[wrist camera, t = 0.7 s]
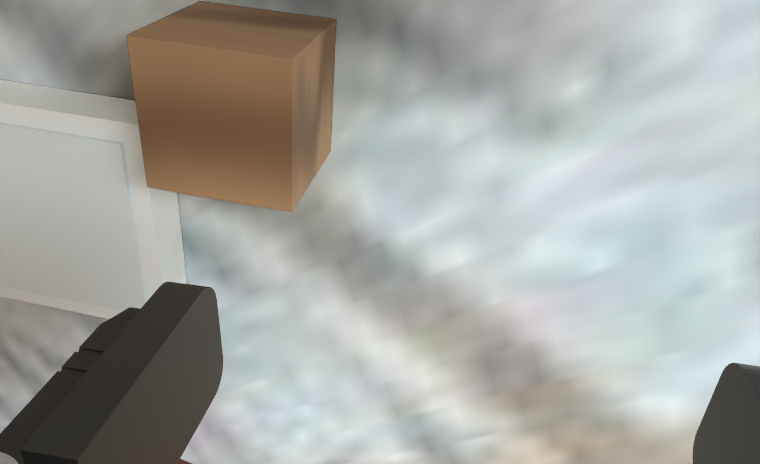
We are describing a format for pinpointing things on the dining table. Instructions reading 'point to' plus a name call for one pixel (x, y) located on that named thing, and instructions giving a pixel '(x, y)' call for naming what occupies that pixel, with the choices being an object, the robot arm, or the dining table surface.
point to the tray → (80, 204)
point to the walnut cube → (234, 102)
